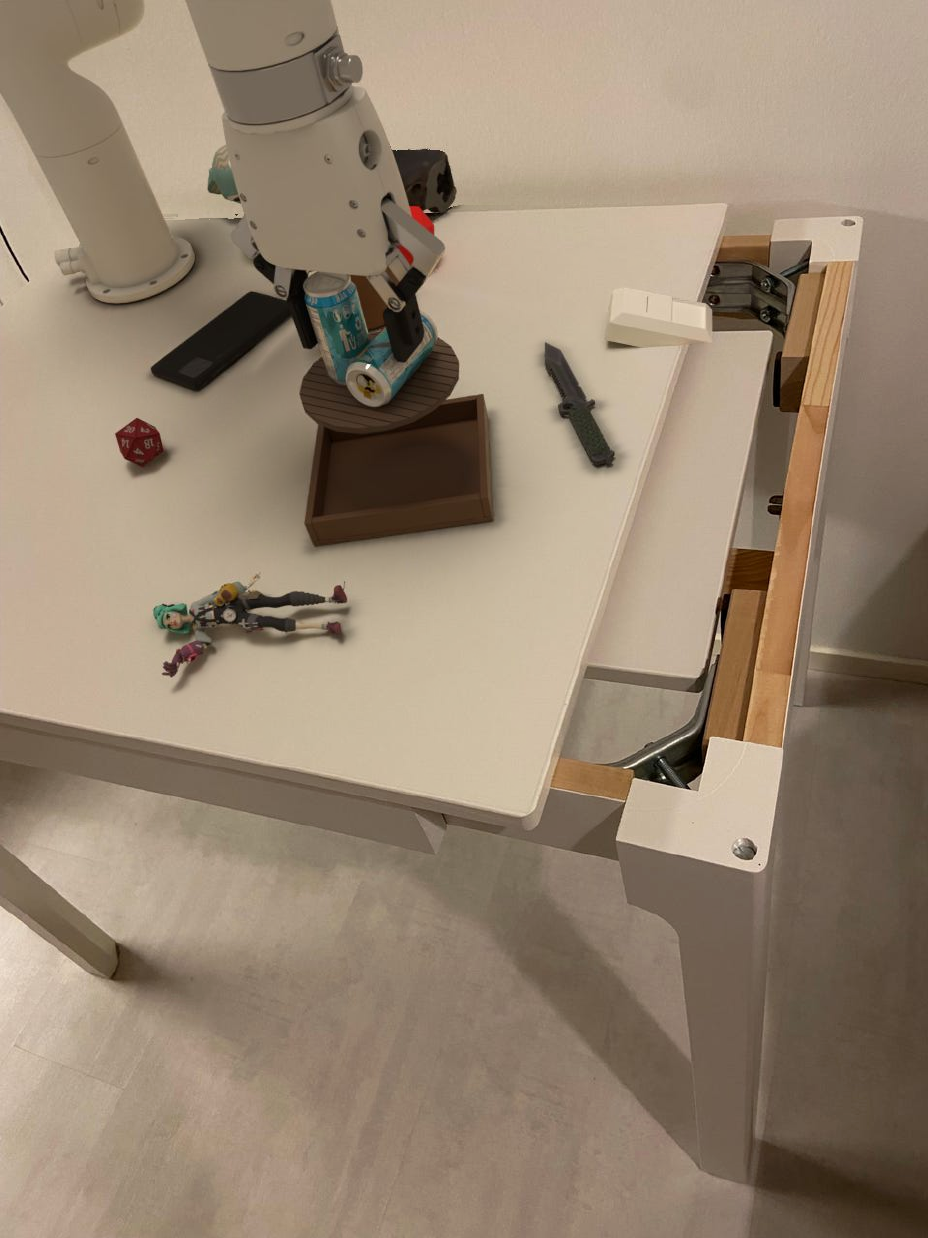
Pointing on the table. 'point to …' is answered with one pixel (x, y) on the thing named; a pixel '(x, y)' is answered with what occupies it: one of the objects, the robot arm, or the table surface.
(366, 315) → the mug
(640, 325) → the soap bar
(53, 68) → the robot arm
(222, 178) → the stuffed animal
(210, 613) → the figurine
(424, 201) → the sculpture
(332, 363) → the blue cans and disc
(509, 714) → the table surface
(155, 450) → the dice
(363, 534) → the tray
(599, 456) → the knife
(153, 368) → the smartphone
